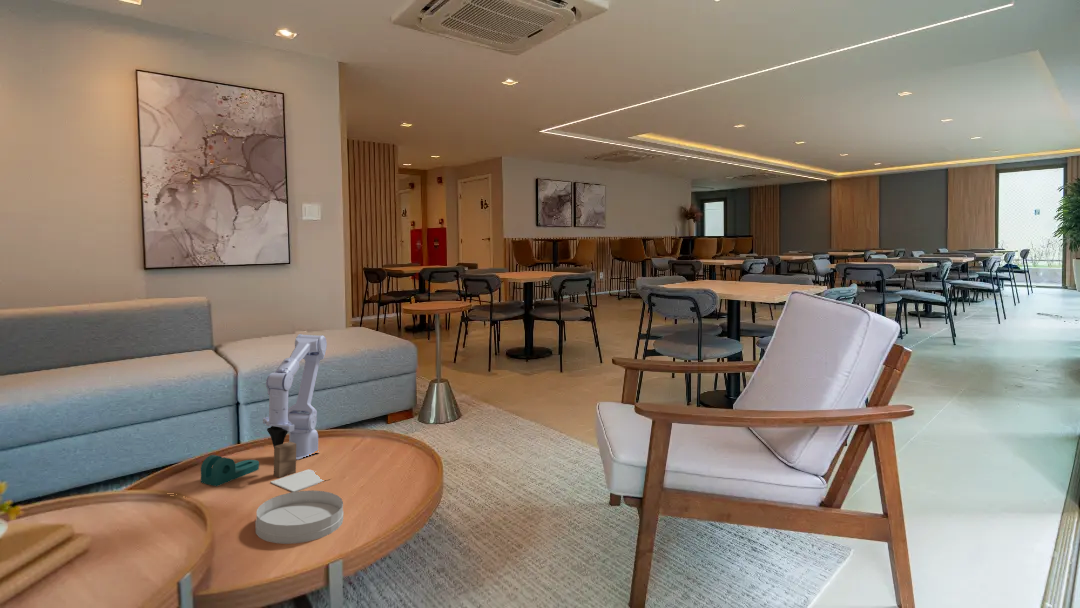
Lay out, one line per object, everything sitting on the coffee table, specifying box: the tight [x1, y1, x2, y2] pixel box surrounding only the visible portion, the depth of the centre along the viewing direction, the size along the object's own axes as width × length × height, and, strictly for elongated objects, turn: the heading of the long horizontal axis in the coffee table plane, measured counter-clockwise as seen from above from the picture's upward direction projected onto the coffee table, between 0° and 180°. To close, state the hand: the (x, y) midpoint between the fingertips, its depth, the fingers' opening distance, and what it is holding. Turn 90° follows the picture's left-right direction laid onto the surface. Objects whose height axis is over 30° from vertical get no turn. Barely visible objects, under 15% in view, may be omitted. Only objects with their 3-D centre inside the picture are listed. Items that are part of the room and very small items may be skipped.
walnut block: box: [273, 441, 297, 479], centre depth 186 cm, size 6×3×10 cm, turn 148°
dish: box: [255, 490, 345, 545], centre depth 153 cm, size 22×22×5 cm
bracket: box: [200, 454, 260, 487], centre depth 183 cm, size 18×7×8 cm, turn 160°
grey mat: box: [270, 468, 324, 493], centre depth 181 cm, size 14×12×1 cm
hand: (278, 448), depth 187 cm, fingers closed
